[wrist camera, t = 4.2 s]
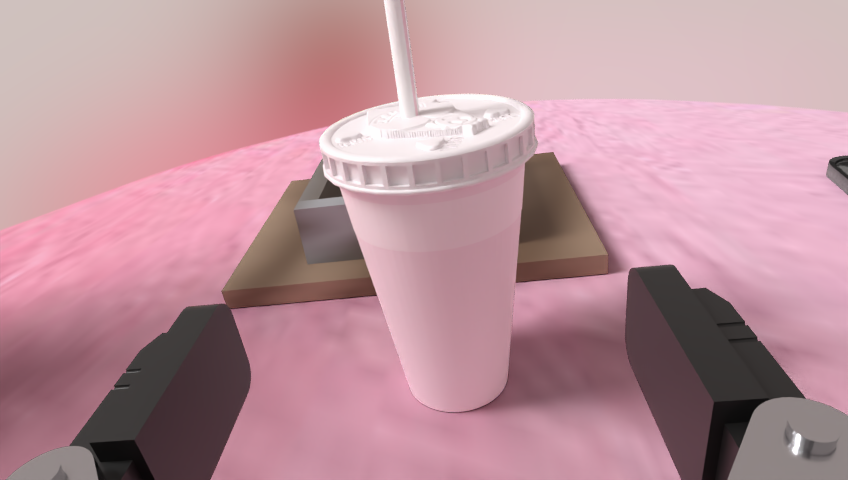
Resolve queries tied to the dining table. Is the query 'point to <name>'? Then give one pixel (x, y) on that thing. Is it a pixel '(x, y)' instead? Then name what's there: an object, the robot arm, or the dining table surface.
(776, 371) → the robot arm
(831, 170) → the phone
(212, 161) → the dining table surface
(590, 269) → the collar board
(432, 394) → the smoothie
